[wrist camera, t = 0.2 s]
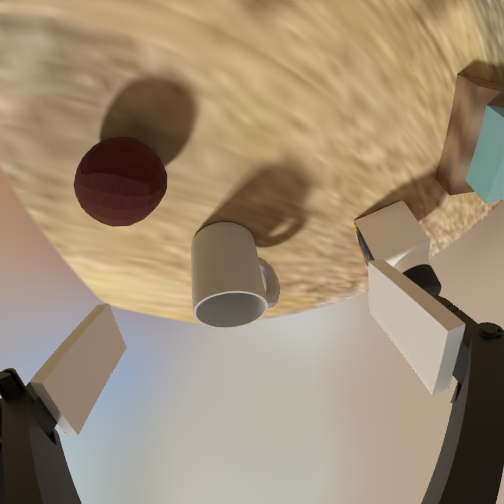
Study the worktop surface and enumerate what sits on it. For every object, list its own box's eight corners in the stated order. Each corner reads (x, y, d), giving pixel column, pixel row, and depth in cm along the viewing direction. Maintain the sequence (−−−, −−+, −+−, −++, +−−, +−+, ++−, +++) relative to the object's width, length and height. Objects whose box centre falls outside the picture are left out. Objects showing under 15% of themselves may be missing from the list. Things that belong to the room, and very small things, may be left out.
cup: (204, 212, 29) (209, 284, 23) (285, 235, 34) (305, 300, 28) (182, 256, 34) (183, 323, 28) (256, 271, 38) (268, 333, 32)
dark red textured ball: (93, 116, 19) (62, 159, 15) (180, 133, 22) (174, 179, 18) (86, 185, 24) (64, 238, 19) (160, 199, 27) (154, 253, 22)
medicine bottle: (352, 220, 33) (393, 305, 25) (402, 198, 31) (452, 276, 24) (360, 252, 38) (393, 327, 31) (404, 232, 37) (443, 303, 29)
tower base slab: (453, 71, 19) (478, 86, 17) (517, 87, 19) (538, 102, 16) (432, 175, 30) (449, 195, 27) (494, 169, 30) (510, 186, 27)
